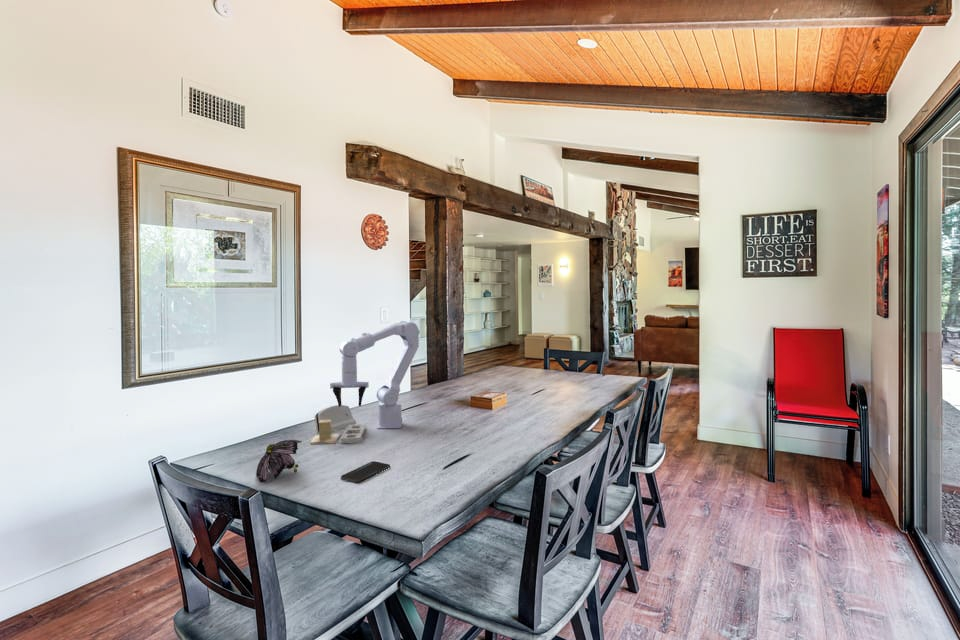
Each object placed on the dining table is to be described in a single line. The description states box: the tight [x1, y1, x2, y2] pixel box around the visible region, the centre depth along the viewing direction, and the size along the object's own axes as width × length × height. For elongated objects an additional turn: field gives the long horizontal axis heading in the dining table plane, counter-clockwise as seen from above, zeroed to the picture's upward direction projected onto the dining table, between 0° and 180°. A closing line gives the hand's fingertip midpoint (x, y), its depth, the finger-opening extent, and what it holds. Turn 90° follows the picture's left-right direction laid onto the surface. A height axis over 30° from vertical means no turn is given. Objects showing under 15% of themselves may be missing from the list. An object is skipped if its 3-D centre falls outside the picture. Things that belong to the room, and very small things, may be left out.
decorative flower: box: [255, 439, 303, 483], centre depth 152 cm, size 14×12×15 cm
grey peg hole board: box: [340, 423, 367, 444], centre depth 191 cm, size 7×18×2 cm, turn 6°
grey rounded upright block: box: [314, 404, 357, 433], centre depth 202 cm, size 17×5×10 cm, turn 145°
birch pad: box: [310, 433, 341, 445], centre depth 186 cm, size 9×9×1 cm
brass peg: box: [318, 419, 332, 440], centre depth 186 cm, size 4×4×6 cm
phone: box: [340, 461, 391, 484], centre depth 153 cm, size 8×1×15 cm
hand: (350, 405), depth 196 cm, fingers open, 7 cm apart
